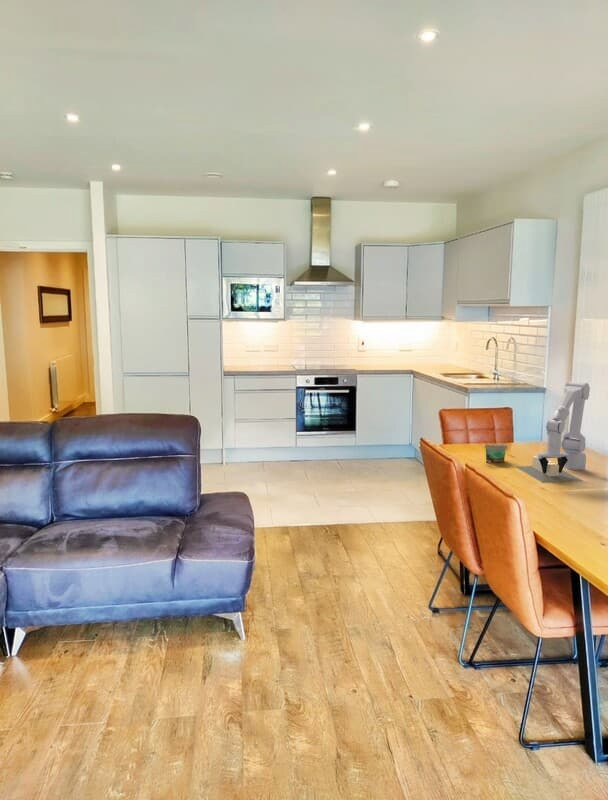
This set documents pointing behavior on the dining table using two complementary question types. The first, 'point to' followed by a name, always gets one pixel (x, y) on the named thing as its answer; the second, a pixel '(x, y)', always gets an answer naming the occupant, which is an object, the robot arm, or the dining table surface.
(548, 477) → the mat
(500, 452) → the food container
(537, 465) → the cream box
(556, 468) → the block
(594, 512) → the dining table surface
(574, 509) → the dining table surface
